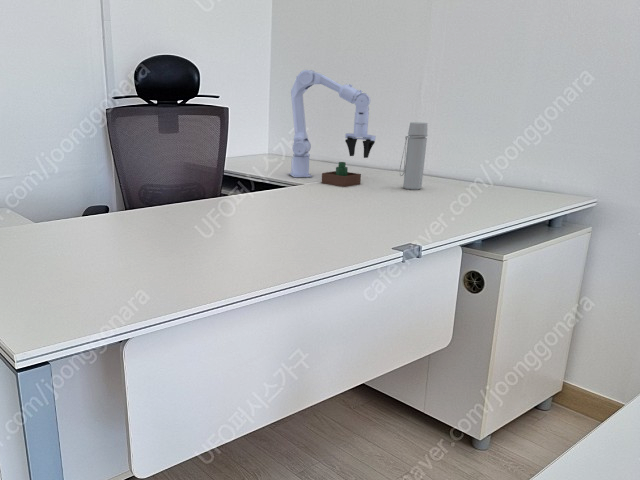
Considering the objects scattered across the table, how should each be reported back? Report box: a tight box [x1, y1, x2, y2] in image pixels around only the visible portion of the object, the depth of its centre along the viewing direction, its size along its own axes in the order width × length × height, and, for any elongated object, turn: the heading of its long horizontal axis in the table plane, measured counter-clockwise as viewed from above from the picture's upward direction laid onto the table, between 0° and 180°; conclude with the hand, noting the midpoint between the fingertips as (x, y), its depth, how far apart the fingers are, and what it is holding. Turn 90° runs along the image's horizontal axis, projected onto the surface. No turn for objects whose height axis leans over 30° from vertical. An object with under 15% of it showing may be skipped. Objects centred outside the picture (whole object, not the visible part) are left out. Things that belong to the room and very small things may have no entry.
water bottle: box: [399, 121, 429, 191], centre depth 230 cm, size 9×8×25 cm
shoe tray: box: [321, 170, 362, 188], centre depth 245 cm, size 12×10×4 cm
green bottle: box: [335, 161, 349, 176], centre depth 244 cm, size 5×5×8 cm
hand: (358, 156), depth 253 cm, fingers open, 7 cm apart
